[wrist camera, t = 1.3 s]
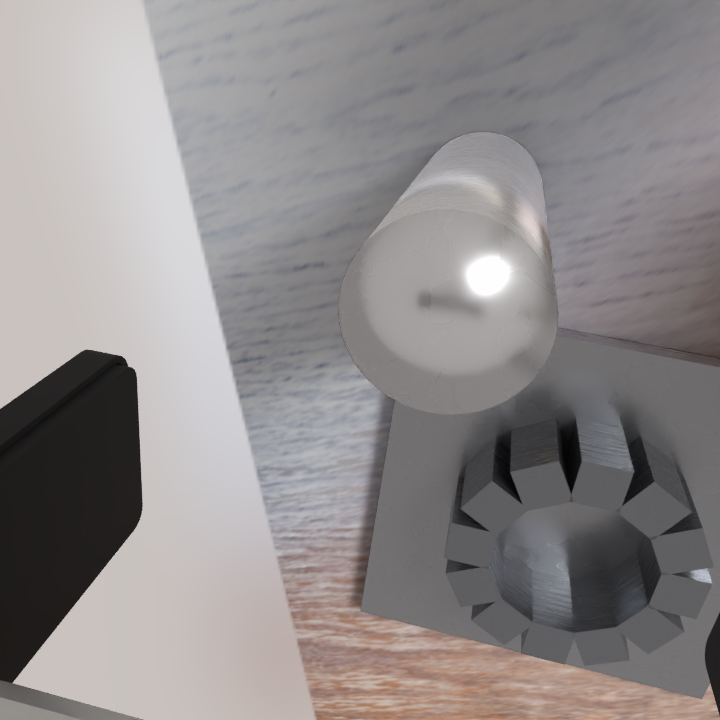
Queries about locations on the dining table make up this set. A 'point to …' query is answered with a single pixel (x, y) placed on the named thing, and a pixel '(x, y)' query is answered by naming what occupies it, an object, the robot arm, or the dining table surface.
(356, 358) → the dome-topped grey cylinder
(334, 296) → the dining table surface
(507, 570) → the duct flange
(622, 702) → the dining table surface
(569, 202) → the dining table surface
